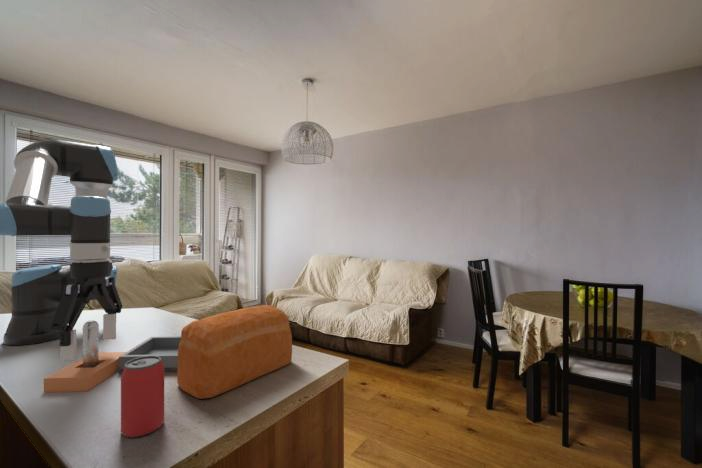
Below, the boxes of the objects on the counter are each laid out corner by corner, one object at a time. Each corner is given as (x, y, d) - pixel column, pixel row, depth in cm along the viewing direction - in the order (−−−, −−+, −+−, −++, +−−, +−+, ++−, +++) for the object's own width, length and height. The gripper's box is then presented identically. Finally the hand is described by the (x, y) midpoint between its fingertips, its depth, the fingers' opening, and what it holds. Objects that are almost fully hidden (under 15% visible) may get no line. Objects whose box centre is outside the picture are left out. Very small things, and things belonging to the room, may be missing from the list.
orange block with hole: (93, 363, 85) (93, 352, 85) (129, 363, 86) (129, 351, 86) (43, 392, 70) (43, 378, 70) (87, 390, 71) (87, 377, 71)
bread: (297, 363, 87) (297, 304, 87) (203, 404, 66) (204, 327, 66) (264, 351, 95) (264, 298, 95) (171, 385, 74) (172, 316, 74)
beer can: (134, 417, 61) (134, 354, 61) (171, 416, 61) (171, 353, 61) (111, 440, 54) (111, 369, 54) (152, 438, 55) (152, 368, 55)
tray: (151, 350, 95) (151, 336, 95) (203, 349, 96) (203, 336, 96) (118, 372, 80) (118, 356, 80) (181, 371, 81) (181, 355, 81)
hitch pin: (88, 373, 79) (88, 319, 79) (101, 373, 80) (101, 318, 79) (79, 379, 76) (79, 322, 76) (92, 378, 77) (93, 322, 76)
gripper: (65, 266, 66) (65, 370, 66) (137, 256, 90) (137, 331, 91) (26, 266, 65) (26, 371, 65) (109, 256, 90) (109, 332, 90)
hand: (90, 348), depth 78 cm, fingers open, 13 cm apart
